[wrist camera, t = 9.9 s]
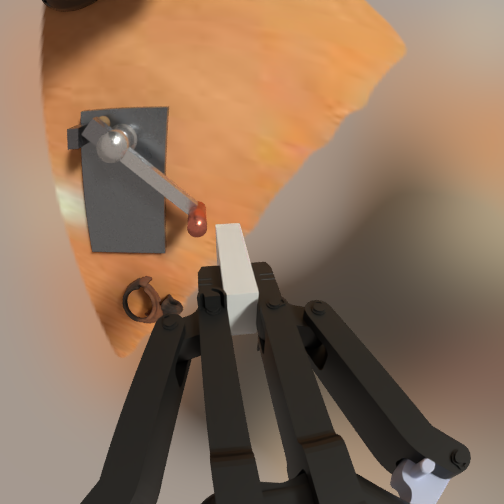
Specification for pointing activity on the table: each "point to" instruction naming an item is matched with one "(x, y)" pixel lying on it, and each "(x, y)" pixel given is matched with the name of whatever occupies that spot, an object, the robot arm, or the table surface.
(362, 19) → the table surface
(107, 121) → the walnut
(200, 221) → the lever
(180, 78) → the table surface
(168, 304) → the pottery mug
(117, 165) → the base board
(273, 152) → the table surface
